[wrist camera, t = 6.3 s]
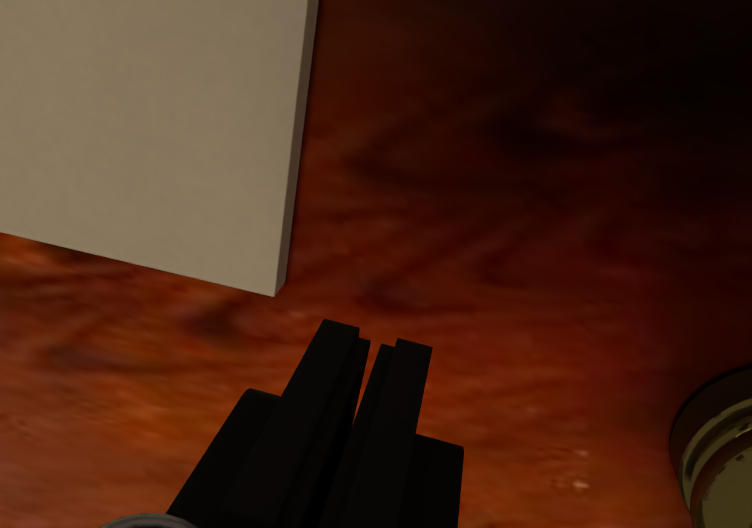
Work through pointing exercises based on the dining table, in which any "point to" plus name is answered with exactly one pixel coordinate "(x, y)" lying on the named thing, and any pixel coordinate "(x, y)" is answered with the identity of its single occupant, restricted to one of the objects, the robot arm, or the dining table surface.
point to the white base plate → (157, 131)
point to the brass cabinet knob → (716, 454)
